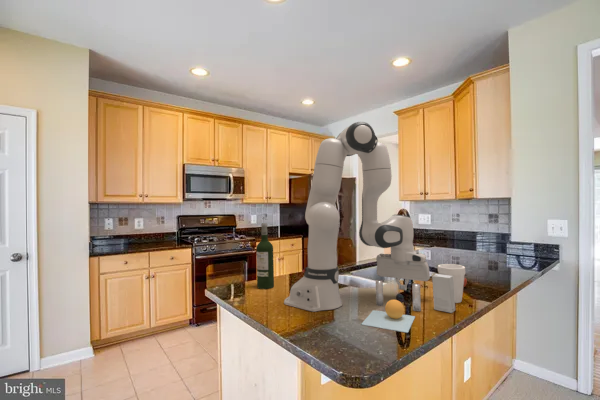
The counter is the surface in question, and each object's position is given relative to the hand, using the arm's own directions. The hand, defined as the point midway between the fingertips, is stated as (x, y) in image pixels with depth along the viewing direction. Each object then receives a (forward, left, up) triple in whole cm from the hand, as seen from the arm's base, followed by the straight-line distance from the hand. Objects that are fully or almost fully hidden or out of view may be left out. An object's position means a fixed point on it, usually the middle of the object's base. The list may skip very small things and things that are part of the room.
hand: (402, 289), depth 121 cm
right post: (+7, -13, -3) cm, 15 cm away
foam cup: (+18, +4, -3) cm, 18 cm away
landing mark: (+1, -27, -3) cm, 27 cm away
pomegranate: (+19, +24, -3) cm, 31 cm away
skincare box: (+16, -9, -3) cm, 18 cm away
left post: (-6, -13, -3) cm, 14 cm away
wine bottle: (-60, -10, -3) cm, 61 cm away
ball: (+2, -24, 0) cm, 24 cm away
